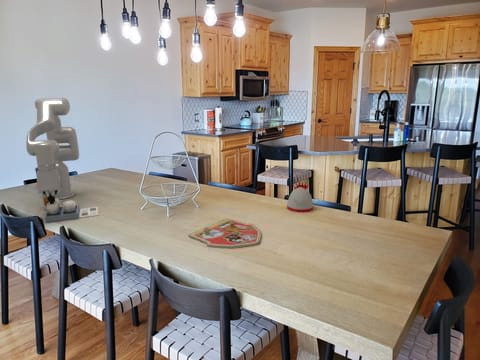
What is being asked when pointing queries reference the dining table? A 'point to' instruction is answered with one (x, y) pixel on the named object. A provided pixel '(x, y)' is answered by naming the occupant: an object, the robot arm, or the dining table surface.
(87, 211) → the card
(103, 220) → the dining table surface
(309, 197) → the grey red dome
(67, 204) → the button
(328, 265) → the dining table surface
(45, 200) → the milk bottle
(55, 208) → the button
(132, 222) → the dining table surface
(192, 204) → the dining table surface
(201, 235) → the coat of arms plaque
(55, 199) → the button
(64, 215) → the button board
